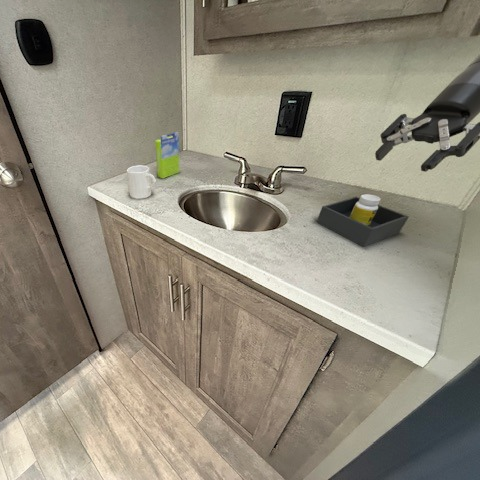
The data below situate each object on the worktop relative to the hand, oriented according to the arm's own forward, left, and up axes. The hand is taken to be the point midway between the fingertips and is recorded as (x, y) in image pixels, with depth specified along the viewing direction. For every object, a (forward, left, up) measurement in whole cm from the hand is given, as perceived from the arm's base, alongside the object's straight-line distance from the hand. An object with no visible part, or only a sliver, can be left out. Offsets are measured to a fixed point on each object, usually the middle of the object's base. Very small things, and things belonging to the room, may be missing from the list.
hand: (398, 163), depth 51 cm
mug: (+63, -21, -19) cm, 69 cm away
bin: (-1, -5, -19) cm, 20 cm away
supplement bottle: (-1, -5, -19) cm, 19 cm away
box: (+58, -43, -19) cm, 74 cm away
